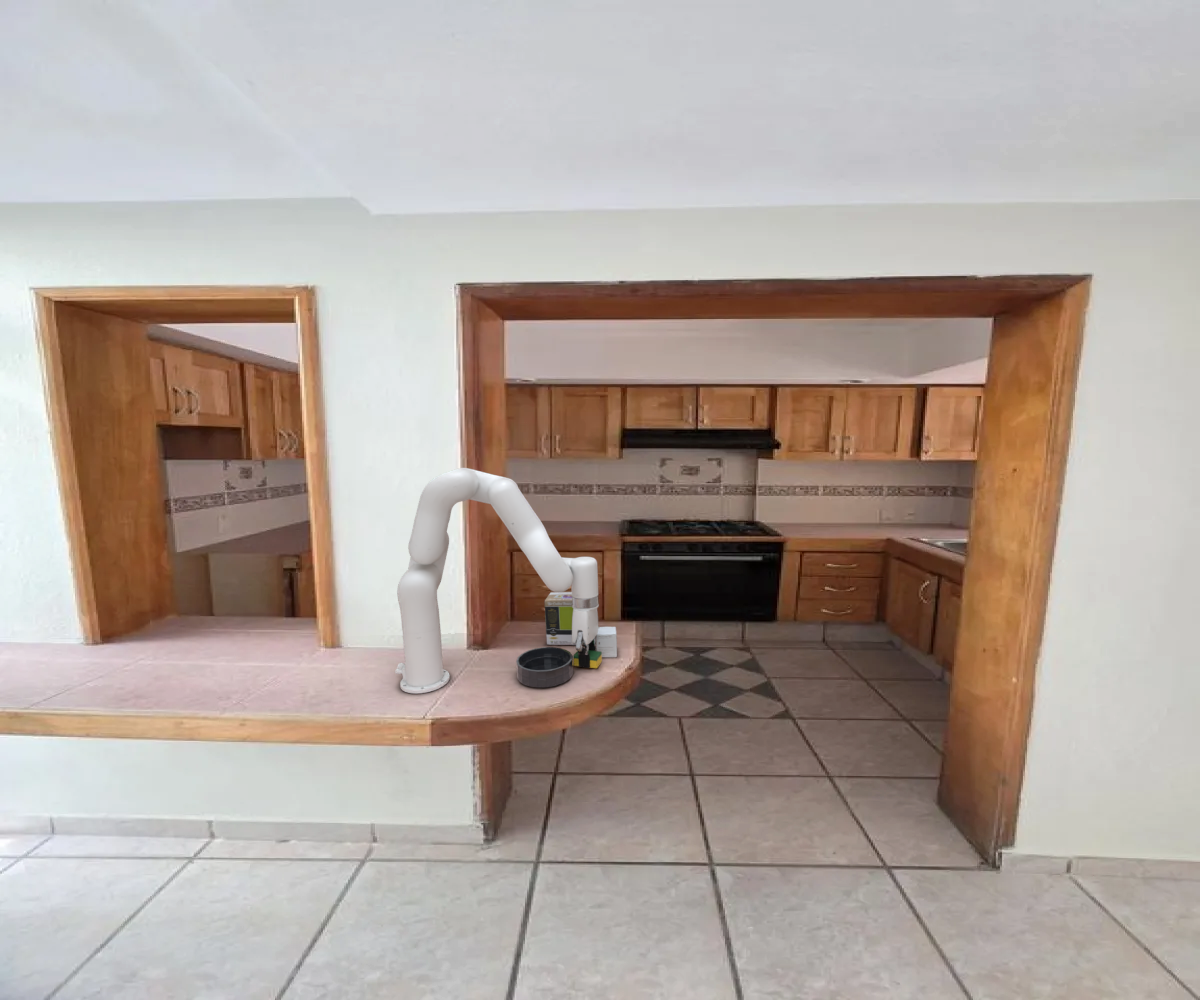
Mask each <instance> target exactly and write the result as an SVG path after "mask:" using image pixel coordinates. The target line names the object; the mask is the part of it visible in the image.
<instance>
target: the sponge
mask: <svg viewBox="0 0 1200 1000" xmlns="http://www.w3.org/2000/svg"><path fill="white" fill-rule="evenodd" d="M588 654H590V667H589V669H598V668H599V666H600V665H601V664H602V662H603V657H602V652H600V651H591V650H588ZM572 656H573V667H574V666H575V667H579V659H578V651H577V650H576V652H575V653H574V654H572Z"/></svg>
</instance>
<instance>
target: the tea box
mask: <svg viewBox="0 0 1200 1000" xmlns="http://www.w3.org/2000/svg"><path fill="white" fill-rule="evenodd" d="M572 616H573V608H572V591H564V592H554V591H550V593H549V594H548V595H547V597H546V598H545V599H544V618H545V619H544V620H545V637H546V639H545V640H546V645H548V646H551V645H553V646H558V645H559V646H576V644H577V642H576V643H575V644H573V643H572ZM583 643H585V641H583Z"/></svg>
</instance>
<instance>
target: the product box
mask: <svg viewBox="0 0 1200 1000" xmlns="http://www.w3.org/2000/svg"><path fill="white" fill-rule="evenodd" d="M617 637H618V636H617V627H616V626H598V633H597V635H596V638H595V639H596V645H595V646H596V651H600V652H602V658H617V657H618V640H617V639H618V638H617Z"/></svg>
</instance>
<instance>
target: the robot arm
mask: <svg viewBox="0 0 1200 1000" xmlns="http://www.w3.org/2000/svg"><path fill="white" fill-rule="evenodd" d="M468 500H471V501H475V502H480V503H484V504H487V505H488V504H489V505H491V507H492V508H493V510H494V511H495V513H496V515H497V516H498V517H499V518H500V520H501V521H502V522H503V524H504V526H505V527H506V529H507V530H508V532H509V533H510V534H511V536H512V538H513V539H514V540H515V542H516V543H517V545H518V547H519V548H520V550H521V551H522V552H523V553H524V555H525V556H526V558H527V559H528V561H529V563H530V564H531V566H532V567H533V569H534V570H535V572H536V574H538V576H539V577H540V579H541V581H542V582H543V583H544V585H545V586H546V587H547V588H548V589H549V590H550V591H551V592H567V591H568V589H570V587H571V592H572V608H573V616H572V643H573V644H575V643H576V642H577V644H576V645H575V650H576V652H577V651H578V659H579V666H578V667H579V668H585V669H590V654H588V650H591V651H596V635H597V633H598V627H599V613H598V608H599V606H600V602H599V601H600V600H599V575H598V573H599V571H598V570H599V569H598V561H597V559H596V558H595V557H591V556H578V557H564V556H563V557H562V556H561V555H560V553H559V551H558V550H557V548H556V546H555V544H554V543H553V542H552V540H551V538H550V537H549V534H548V532H547V530H546V527H545V526H544V524H543V523H542V521H541V519H540V518H539V516H538V515H537V514H536V512H535V511H534V509H533V508H532V505H530V503H529V501H528V500H527V499H526V497H525V496H524V494H523V493H522V491H521V490H520V488H519V485H518V484H517V482H516V481H515V480H513V479H512V478H509V477H505V476H501V475H496V474H492V473H488V472H484V471H480V470H476V469H473V468H468V467H459V468H456V469H454V470H450V471H446V472H443V473H440V474H439V475H437V476H435V477H433V478H432V479H431V480H430V481H428V483H426V484H425V486H424V487H423V490H422V492H421V494H420V497H419V500H418V503H417V504H418V505H417V508H416V512H415V517H414V519H413V524H412V530H411V533H410V538H409V540H408V547H407V548H408V554H409V556H410V557H409V563H408V568H407V570H406V571H405V572H404V573H403V574H402V576H401V577H400V579H399V581H398V585H397V591H396V593H397V601H398V607H399V612H400V620H401V631H402V643H403V644H402V645H403V655H404V662H398V664H397V667H396V669H395V670H394V673H395V674H396V675H402V679H400V682H399V686H400V690H402V691H403V692H405V693H408V694H426V693H429V692H433V691H434V692H435V691H436V690H439V689H441V688H443V687H445V686H446V685H447V683H449V681H450V680H451V679H450V677H451V675H450V672H449V671H448V670H446V669H444V661H443V648H442V647H443V645H442V633H441V631H442V629H441V621H440V609H439V601H438V589H439V588H440V587H439V586H440V585H441V582H442V579H443V574H444V570H445V564H446V560H447V555H448V551H449V546H450V535H449V533H448V528H449V523H450V520H451V514H452V510H453V508H454V506H455V505H456V504H457V503H460V502H466V501H468ZM583 641H585V643H583Z"/></svg>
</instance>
